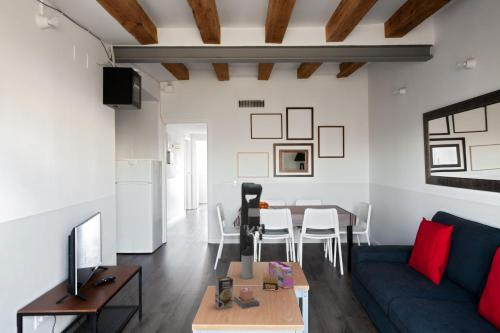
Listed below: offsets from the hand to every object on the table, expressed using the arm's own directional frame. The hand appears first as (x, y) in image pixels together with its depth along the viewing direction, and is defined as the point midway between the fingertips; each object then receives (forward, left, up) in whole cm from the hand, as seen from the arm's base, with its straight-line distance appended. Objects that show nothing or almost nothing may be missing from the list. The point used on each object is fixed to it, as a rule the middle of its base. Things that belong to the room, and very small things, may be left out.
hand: (254, 241), depth 190 cm
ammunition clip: (-10, +17, -36) cm, 41 cm away
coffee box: (+2, -21, -36) cm, 42 cm away
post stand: (+3, -7, -36) cm, 37 cm away
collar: (+3, -7, -34) cm, 35 cm away
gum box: (-19, +30, -36) cm, 51 cm away
